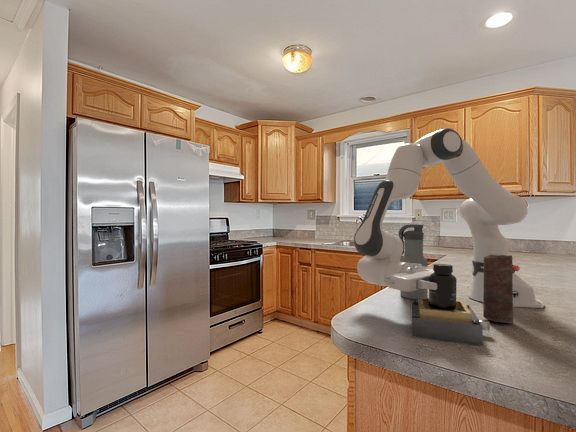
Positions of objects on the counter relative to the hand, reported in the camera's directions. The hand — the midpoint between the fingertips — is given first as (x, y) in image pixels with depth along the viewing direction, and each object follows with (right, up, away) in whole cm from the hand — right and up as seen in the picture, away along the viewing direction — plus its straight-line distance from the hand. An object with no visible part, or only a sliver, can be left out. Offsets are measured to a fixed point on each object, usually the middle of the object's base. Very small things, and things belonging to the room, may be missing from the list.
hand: (445, 284), depth 85 cm
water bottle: (+5, -13, +35) cm, 38 cm away
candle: (+19, -13, +7) cm, 24 cm away
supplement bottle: (-1, -7, +1) cm, 7 cm away
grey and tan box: (+1, -13, 0) cm, 13 cm away
